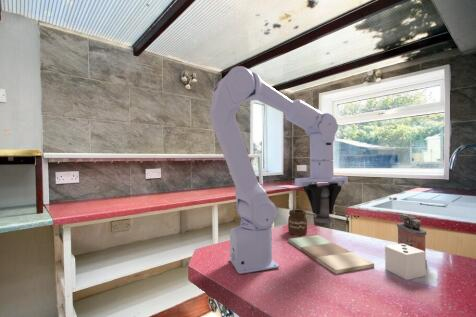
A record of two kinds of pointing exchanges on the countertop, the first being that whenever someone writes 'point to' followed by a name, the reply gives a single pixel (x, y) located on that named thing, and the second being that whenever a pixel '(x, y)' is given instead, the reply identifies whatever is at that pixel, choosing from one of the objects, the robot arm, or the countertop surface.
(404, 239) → the lighter
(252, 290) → the countertop surface
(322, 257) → the board
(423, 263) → the die
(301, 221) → the utensil holder
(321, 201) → the pawn
